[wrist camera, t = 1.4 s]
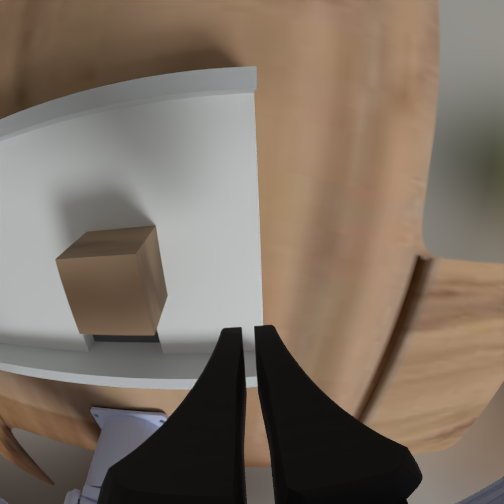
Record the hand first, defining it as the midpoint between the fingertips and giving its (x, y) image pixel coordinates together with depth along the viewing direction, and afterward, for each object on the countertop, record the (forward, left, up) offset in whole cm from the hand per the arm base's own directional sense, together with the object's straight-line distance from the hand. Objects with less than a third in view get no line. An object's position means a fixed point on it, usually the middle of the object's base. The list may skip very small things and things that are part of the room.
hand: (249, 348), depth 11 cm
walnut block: (0, +7, -8) cm, 11 cm away
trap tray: (+1, +16, -9) cm, 18 cm away
